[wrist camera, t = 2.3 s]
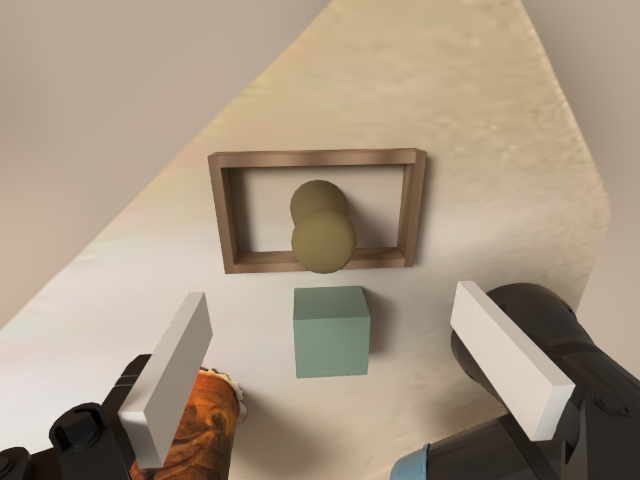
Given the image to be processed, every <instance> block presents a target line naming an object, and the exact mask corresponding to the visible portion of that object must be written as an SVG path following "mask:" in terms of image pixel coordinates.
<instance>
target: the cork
mask: <svg viewBox="0 0 640 480" xmlns="http://www.w3.org/2000/svg"><path fill="white" fill-rule="evenodd" d="M290 210H291V215H292V219H293V222H294V225H295V229H294V230H293V235H292V242H291V244H292V249H293V253H294V255H295V257H296V258H297V260H298V262H299V263H300V264H301V265H302V266H303V267H304V268H306V269H307V270H310V271H312V272H314V273H321V274H326V273H333V272H336V271H338V270H340V269H342V268H343V267H344V266H346V265H347V264H348V263H349V262H350V260H351V259H352V257H353V256H354V253H355V249H356V245H357V240H356V233H355V231H354V229H353V227H352V224H351V223H350V222H349V220H348V219H347V218H346V202H345V198H344V196H343V194H342V192H341V191H340V190H339V188H338V187H337V186H336V185H334V184H332V183H330V182H328V181H323V180H314V181H309V182H307V183H305V184H303V185H301V186H300V187H299V188H298V189H297V190H296V191H295V193H294V195H293V197H292V199H291V205H290Z"/></svg>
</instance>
